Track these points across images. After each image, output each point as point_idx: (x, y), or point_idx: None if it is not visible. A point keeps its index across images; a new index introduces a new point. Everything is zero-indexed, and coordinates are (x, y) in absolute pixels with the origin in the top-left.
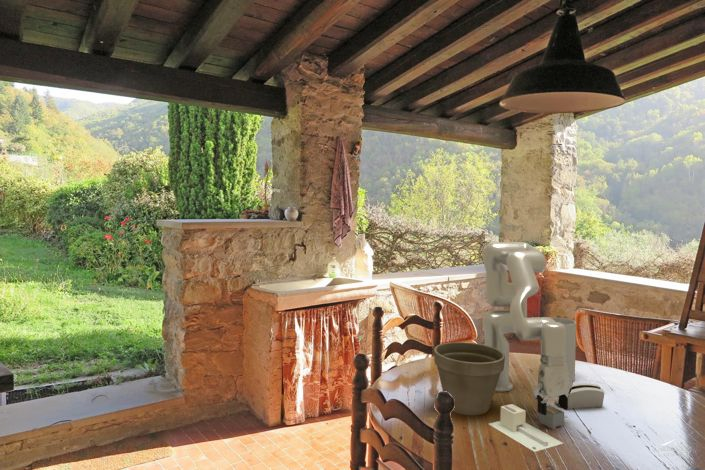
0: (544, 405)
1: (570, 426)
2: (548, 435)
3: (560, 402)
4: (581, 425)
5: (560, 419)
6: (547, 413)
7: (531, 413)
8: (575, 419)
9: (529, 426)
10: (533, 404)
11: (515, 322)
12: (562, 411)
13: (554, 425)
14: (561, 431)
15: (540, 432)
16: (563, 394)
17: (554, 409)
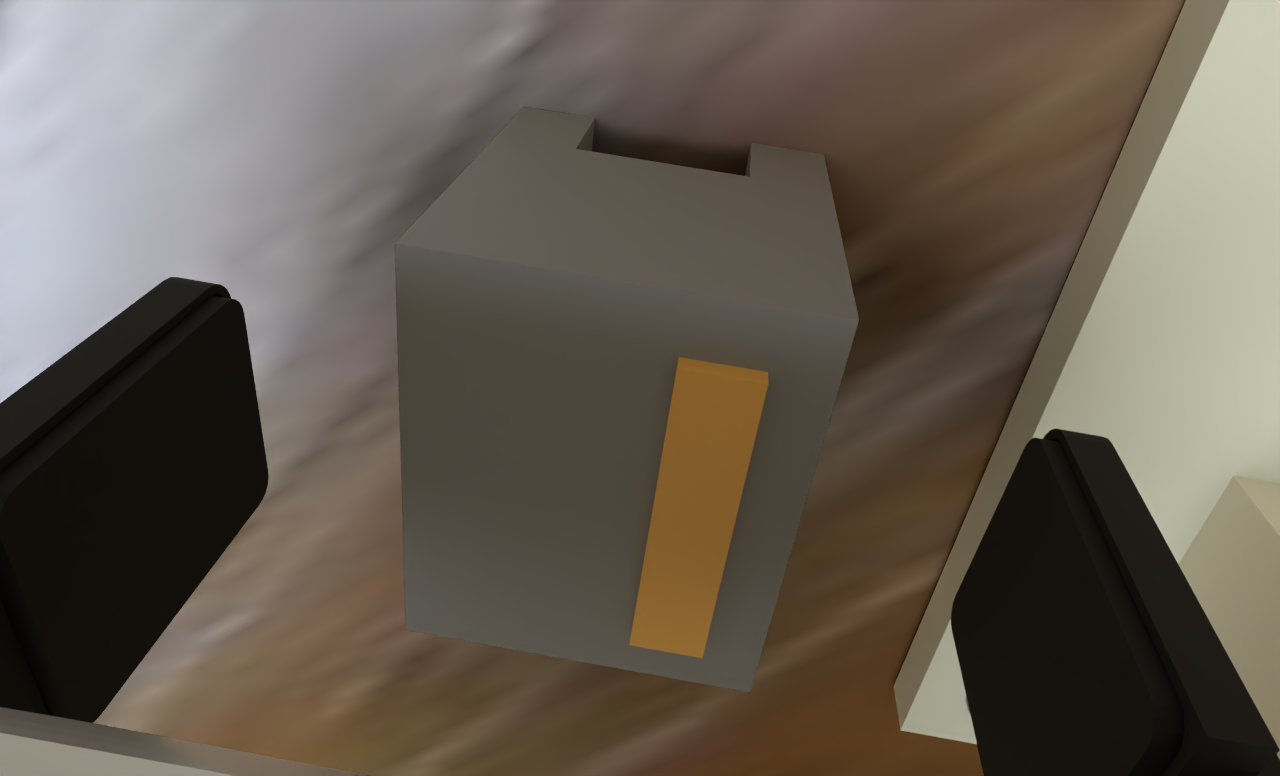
0: (1202, 687)
1: (292, 119)
2: (1222, 58)
3: (187, 543)
4: (56, 19)
5: (583, 203)
6: (809, 471)
7: (498, 666)
8: (3, 226)
9: None
10: (264, 752)
11: None
12: (407, 299)
13: (792, 196)
14: (624, 95)
15: (1189, 242)
16: (99, 747)
17: (497, 475)
